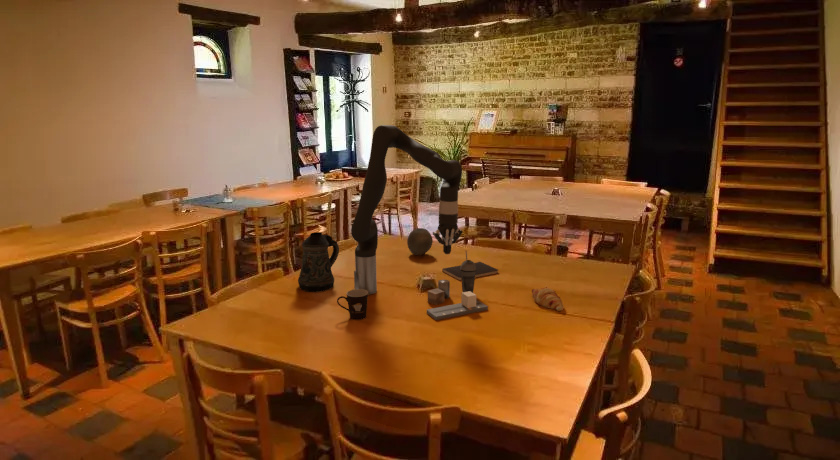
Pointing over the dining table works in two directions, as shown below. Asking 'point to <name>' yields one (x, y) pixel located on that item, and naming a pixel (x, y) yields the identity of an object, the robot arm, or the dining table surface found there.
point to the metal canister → (444, 287)
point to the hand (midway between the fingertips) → (447, 253)
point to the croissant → (547, 298)
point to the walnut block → (436, 296)
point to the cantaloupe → (419, 241)
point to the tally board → (455, 310)
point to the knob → (468, 299)
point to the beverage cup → (468, 275)
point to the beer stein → (317, 263)
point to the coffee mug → (356, 303)
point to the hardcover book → (481, 270)
